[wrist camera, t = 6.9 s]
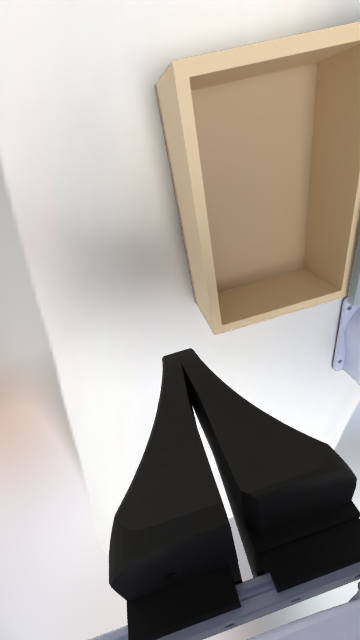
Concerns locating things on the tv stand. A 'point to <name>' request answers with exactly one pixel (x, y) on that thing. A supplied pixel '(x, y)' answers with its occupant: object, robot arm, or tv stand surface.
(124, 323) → the tv stand surface
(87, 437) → the tv stand surface
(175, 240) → the tv stand surface
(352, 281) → the lid
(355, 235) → the light wooden box
